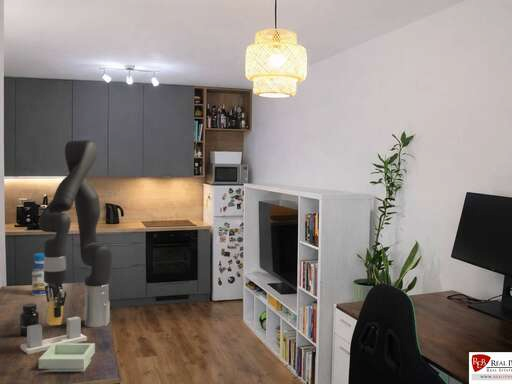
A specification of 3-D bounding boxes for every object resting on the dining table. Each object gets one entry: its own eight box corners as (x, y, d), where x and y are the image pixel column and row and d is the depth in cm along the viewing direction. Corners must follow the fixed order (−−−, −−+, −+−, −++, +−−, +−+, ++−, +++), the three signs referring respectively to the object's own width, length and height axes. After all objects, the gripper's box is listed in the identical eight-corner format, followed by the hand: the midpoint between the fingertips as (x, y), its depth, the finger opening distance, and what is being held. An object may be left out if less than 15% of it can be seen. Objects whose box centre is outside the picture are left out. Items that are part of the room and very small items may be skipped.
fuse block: (78, 337, 190) (78, 332, 190) (86, 342, 185) (87, 336, 185) (20, 351, 175) (20, 344, 175) (27, 357, 170) (27, 350, 170)
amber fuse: (57, 322, 182) (60, 300, 182) (61, 324, 180) (64, 302, 180) (46, 323, 179) (49, 300, 179) (49, 325, 177) (53, 302, 177)
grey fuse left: (38, 346, 178) (38, 324, 177) (42, 348, 176) (42, 326, 175) (27, 348, 175) (27, 326, 175) (30, 351, 173) (30, 328, 172)
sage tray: (94, 354, 174) (94, 343, 174) (83, 371, 160) (83, 359, 160) (53, 354, 173) (53, 343, 173) (38, 371, 159) (38, 359, 159)
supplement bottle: (17, 339, 186) (17, 307, 186) (21, 333, 193) (21, 302, 192) (37, 338, 188) (37, 306, 188) (40, 332, 195) (40, 302, 194)
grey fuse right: (77, 337, 188) (77, 316, 187) (80, 339, 185) (80, 318, 185) (66, 339, 185) (66, 318, 184) (70, 342, 183) (70, 320, 182)
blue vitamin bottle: (53, 293, 252) (53, 253, 251) (38, 297, 245) (38, 256, 243) (43, 290, 256) (43, 252, 255) (28, 294, 249) (28, 254, 248)
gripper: (74, 270, 176) (74, 318, 177) (57, 263, 186) (57, 309, 187) (52, 273, 171) (53, 323, 172) (36, 266, 181) (37, 313, 182)
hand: (55, 315), depth 180 cm, fingers closed on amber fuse, 2 cm apart
